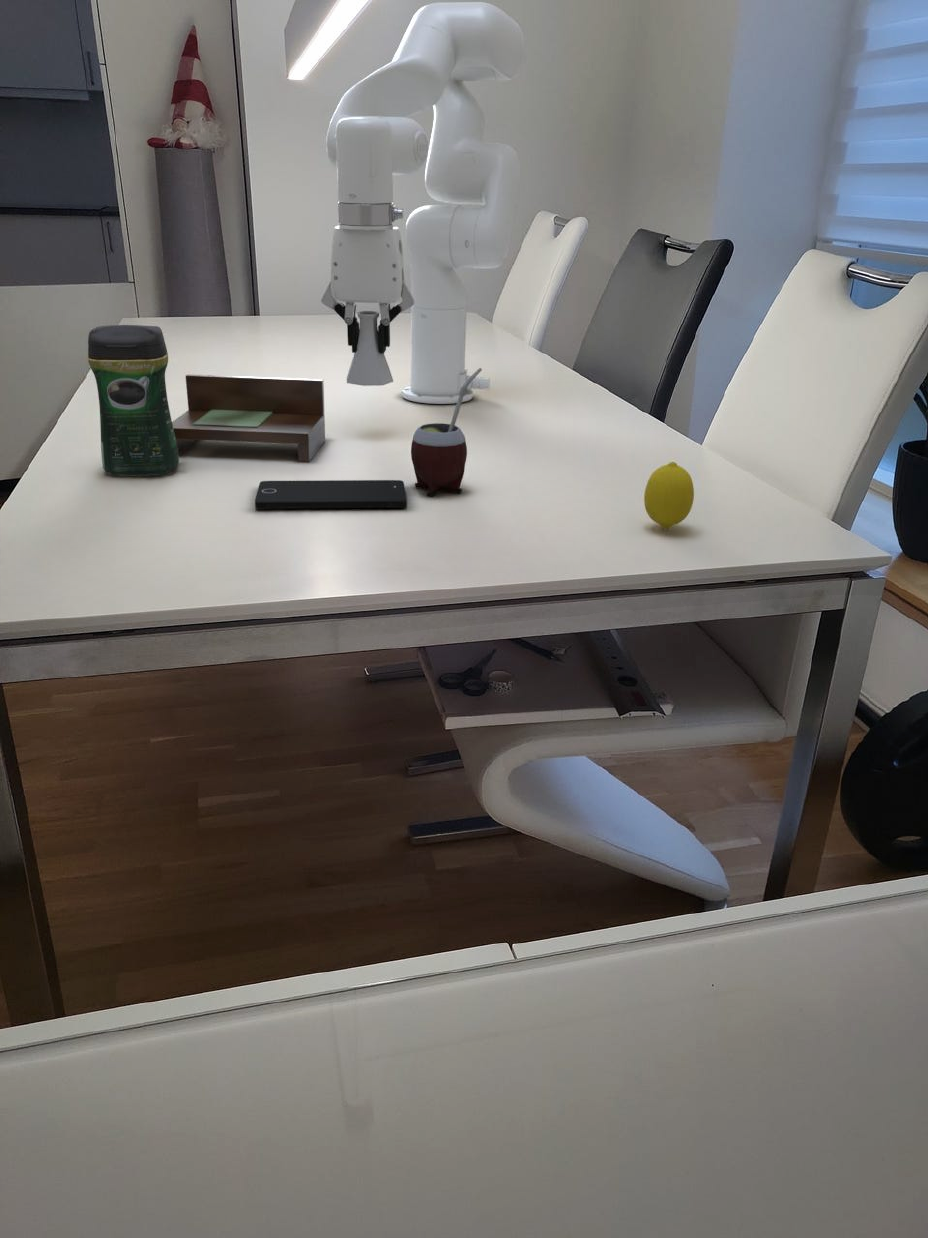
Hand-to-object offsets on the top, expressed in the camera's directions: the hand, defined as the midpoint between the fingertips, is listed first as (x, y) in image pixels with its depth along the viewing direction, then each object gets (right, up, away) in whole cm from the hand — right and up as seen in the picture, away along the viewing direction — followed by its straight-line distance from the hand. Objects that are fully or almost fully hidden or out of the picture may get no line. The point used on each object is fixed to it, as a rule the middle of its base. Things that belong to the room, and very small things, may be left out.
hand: (369, 350), depth 147 cm
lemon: (+37, -29, -31) cm, 56 cm away
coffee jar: (-29, -20, -14) cm, 38 cm away
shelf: (-17, -15, -3) cm, 23 cm away
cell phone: (-2, -25, -24) cm, 34 cm away
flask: (0, -4, +2) cm, 5 cm away
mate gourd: (+11, -23, -19) cm, 31 cm away
